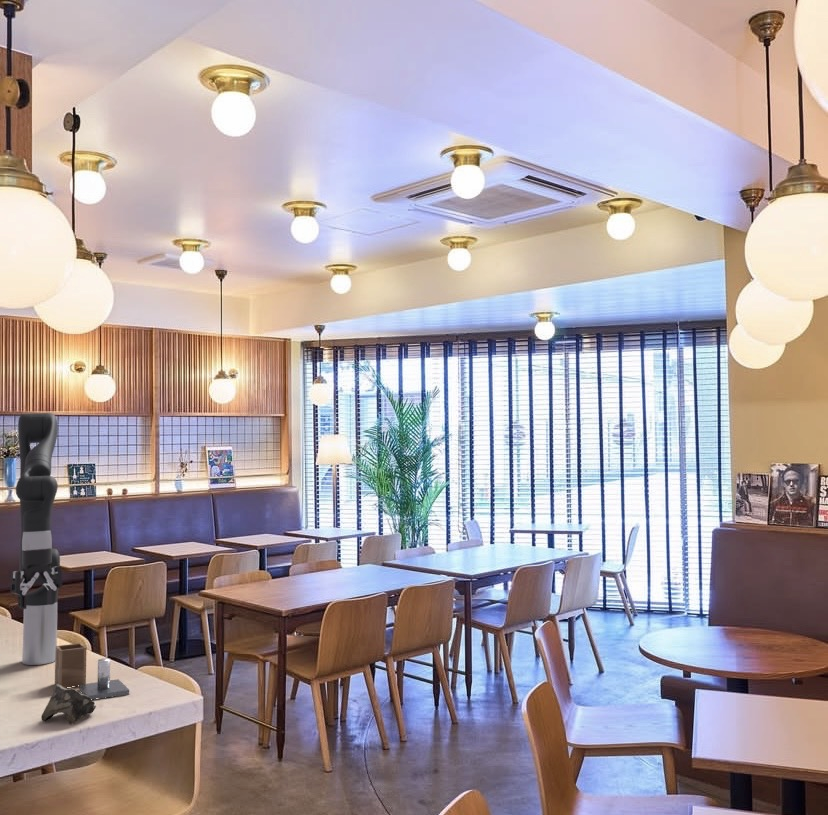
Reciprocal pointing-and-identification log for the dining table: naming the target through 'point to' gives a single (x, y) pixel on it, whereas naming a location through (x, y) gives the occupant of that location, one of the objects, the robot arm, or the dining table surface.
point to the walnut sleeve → (70, 665)
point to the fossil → (68, 704)
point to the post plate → (104, 692)
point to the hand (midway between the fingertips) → (36, 606)
